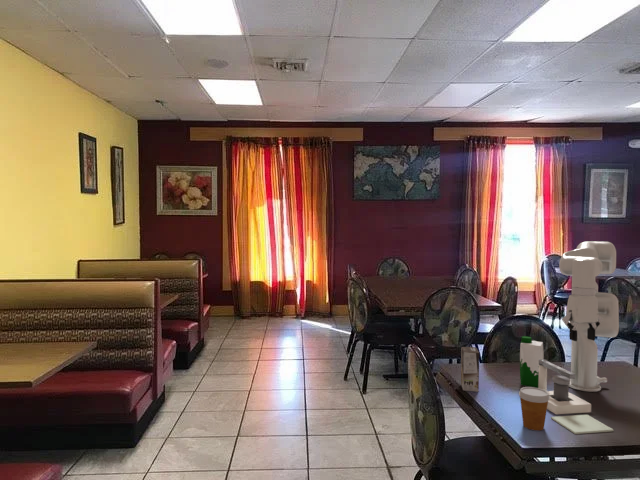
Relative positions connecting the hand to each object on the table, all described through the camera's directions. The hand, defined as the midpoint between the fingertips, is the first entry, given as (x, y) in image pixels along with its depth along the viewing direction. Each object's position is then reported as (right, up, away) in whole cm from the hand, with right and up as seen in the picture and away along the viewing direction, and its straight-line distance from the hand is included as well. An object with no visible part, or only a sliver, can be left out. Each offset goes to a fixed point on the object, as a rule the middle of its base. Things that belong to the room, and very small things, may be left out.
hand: (582, 339), depth 170 cm
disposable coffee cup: (-25, -26, -15) cm, 39 cm away
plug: (-6, -26, +3) cm, 27 cm away
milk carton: (-7, -25, +26) cm, 37 cm away
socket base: (-7, -25, +6) cm, 27 cm away
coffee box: (-34, -25, +22) cm, 48 cm away
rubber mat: (-8, -26, -13) cm, 30 cm away
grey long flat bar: (-7, -13, +6) cm, 16 cm away
